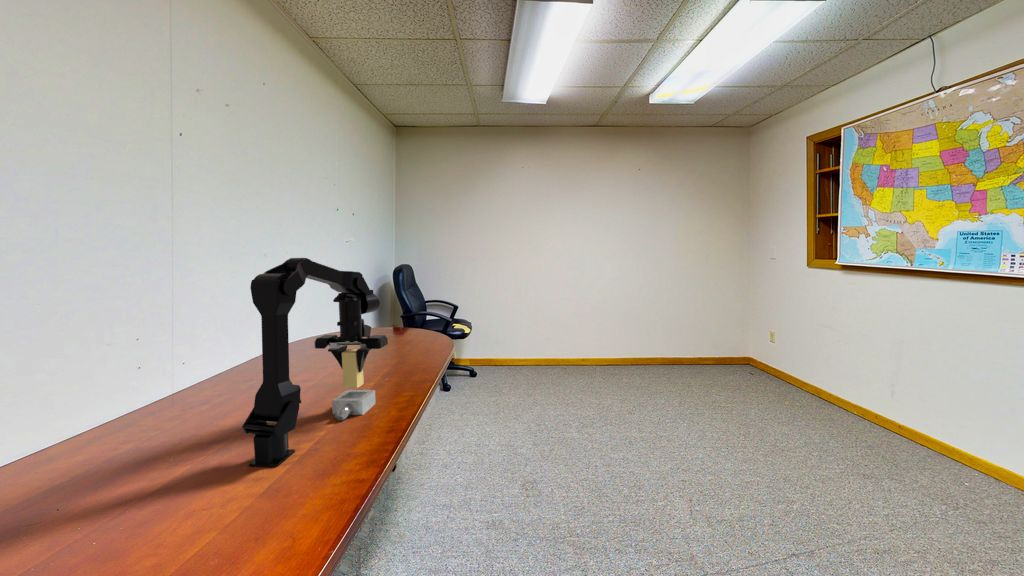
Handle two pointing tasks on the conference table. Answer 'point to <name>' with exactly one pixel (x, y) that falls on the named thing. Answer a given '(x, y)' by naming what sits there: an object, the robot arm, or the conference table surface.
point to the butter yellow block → (351, 370)
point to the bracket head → (353, 403)
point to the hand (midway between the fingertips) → (352, 371)
